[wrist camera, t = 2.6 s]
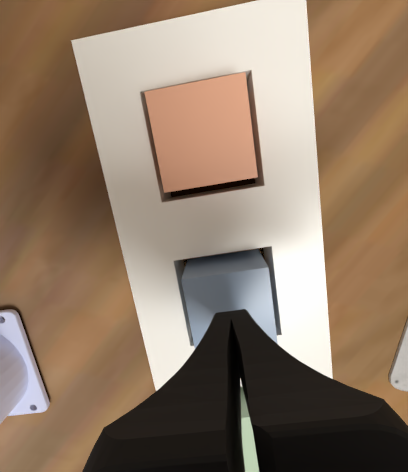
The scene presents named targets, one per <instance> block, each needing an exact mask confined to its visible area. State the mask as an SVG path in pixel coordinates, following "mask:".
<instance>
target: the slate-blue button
mask: <svg viewBox="0 0 408 472" xmlns="http://www.w3.org/2000/svg"><path fill="white" fill-rule="evenodd" d="M181 281H182V286H183V291H184V296H185V301H186V307H187V312H188V317H189V322H190V327H191V332H192V337H193V342H194V347H195V348H196V347H197V346H198V344H199V343H200V341H201V339H202V338H203V336H204V334H205V332H206V331H207V329H208V327H209V325H210V323H211V321H212V319H213V316H214V315H215V313H218V312H226V311H234V310H241V309H246V310H247V311H248V312H249V314H250V315H251V317H252V318H253V319H254V321H255V322H256V323H257V324H258V325H259V326H260V328H261V329H262V330H263V331H264V332H265V333H266V334H267V335H268V336H269V337H270V338H271V339H272V340H273V341H275V342H276V343H277V344H278V342H277V334H276V325H275V317H274V309H273V300H272V292H271V283H270V275H269V267H268V265H267V264H266V262H265V260H264V259H263V257H262V255H261V253H260V252H259V250H258V249H255V250H248V251H241V252H234V253H228V254H221V255H214V256H207V257H201V258H194V259H188V260H187V263H186V266H185V269H184V272H183V276H182V279H181Z"/></svg>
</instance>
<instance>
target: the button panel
mask: <svg viewBox="0 0 408 472" xmlns="http://www.w3.org/2000/svg"><path fill="white" fill-rule="evenodd" d="M71 42H72V46H73V50H74V54H75V58H76V62H77V66H78V71H79V75H80V79H81V83H82V87H83V91H84V95H85V100H86V104H87V108H88V112H89V116H90V120H91V124H92V128H93V133H94V137H95V141H96V145H97V149H98V153H99V157H100V162H101V166H102V170H103V174H104V178H105V182H106V186H107V191H108V195H109V199H110V203H111V207H112V211H113V215H114V219H115V224H116V228H117V232H118V236H119V240H120V244H121V248H122V253H123V257H124V261H125V265H126V269H127V273H128V277H129V281H130V286H131V290H132V294H133V298H134V302H135V306H136V310H137V315H138V319H139V323H140V327H141V331H142V335H143V339H144V344H145V348H146V352H147V356H148V360H149V364H150V368H151V372H152V377H153V381H154V385H155V389H156V391H157V390H158V389H160V388H161V387H162V386H163V385H164V384H165V383H166V382H167V381H168V380H169V379H170V378H171V377H172V376H173V375H174V374H175V373H176V372H177V371H178V370H179V369H180V368H181V367H182V366H183V365H184V363H185V362H186V361H187V360H188V358H189V357H190V356H191V354H192V353H193V351H194V350H195V347H194V342H193V337H192V332H191V327H190V322H189V317H188V312H187V307H186V301H185V296H184V291H183V286H182V281H181V279H182V276H183V272H184V269H185V266H184V261H183V259H188V258H195V257H202V256H209V255H216V254H222V253H229V252H236V251H243V250H249V249H256V248H263V251H264V259H265V262H266V264H267V265H268V267H269V275H270V283H271V292H272V300H273V309H274V317H275V325H276V334H277V342H278V345H279V346H280V347H281V348H283V349H284V350H285V351H286V352H288V353H289V354H290V355H292V356H293V357H295V358H296V359H297V360H299V361H301V362H302V363H304V364H306V365H307V366H309V367H311V368H312V369H314V370H316V371H318V372H320V373H321V374H323V375H325V376H327V377H329V378H332V379H333V377H332V362H331V348H330V334H329V320H328V306H327V291H326V277H325V263H324V249H323V235H322V220H321V206H320V192H319V178H318V164H317V149H316V135H315V121H314V107H313V92H312V78H311V64H310V50H309V36H308V21H307V7H306V0H257V1H253V2H248V3H243V4H239V5H234V6H229V7H225V8H220V9H215V10H211V11H206V12H202V13H197V14H192V15H188V16H183V17H178V18H174V19H169V20H164V21H160V22H155V23H150V24H146V25H141V26H136V27H132V28H127V29H122V30H118V31H113V32H108V33H104V34H99V35H94V36H90V37H85V38H80V39H76V40H71ZM243 72H245V73H246V81H247V90H248V98H249V107H250V115H251V123H252V132H253V140H254V149H255V157H256V165H257V174H258V177H256V178H255V184H249V185H243V186H237V187H231V188H225V189H219V190H213V191H207V192H201V193H195V194H189V195H183V196H176V197H171V193H170V192H166V193H164V189H163V184H162V179H161V174H160V169H159V164H158V159H157V154H156V149H155V144H154V138H153V133H152V128H151V123H150V118H149V113H148V108H147V103H146V98H145V93H144V92H146V91H151V90H156V89H161V88H166V87H171V86H177V85H182V84H187V83H192V82H197V81H202V80H207V79H212V78H217V77H222V76H228V75H233V74H238V73H243ZM240 386H241V387H242V383H241V378H240Z"/></svg>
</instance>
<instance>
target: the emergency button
mask: <svg viewBox="0 0 408 472" xmlns="http://www.w3.org/2000/svg"><path fill="white" fill-rule="evenodd" d="M389 382H390V383H391V384H392V385H393V386H394V387H395V388H396V389H399V390H402V391H408V319H407V322H406V325H405V328H404V331H403V334H402V337H401V340H400V343H399V346H398V349H397V352H396V355H395V358H394V361H393V364H392V367H391V370H390V373H389Z"/></svg>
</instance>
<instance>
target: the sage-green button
mask: <svg viewBox="0 0 408 472" xmlns="http://www.w3.org/2000/svg"><path fill="white" fill-rule="evenodd" d="M241 424H242V445H243V455H244V464H245V472H259V467H258V461H257V454H256V448H255V441H254V435H253V429H252V425H251V421H250V417H249V412H248V408H247V404H246V400H245V395H244V391H243V387H241Z"/></svg>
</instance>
